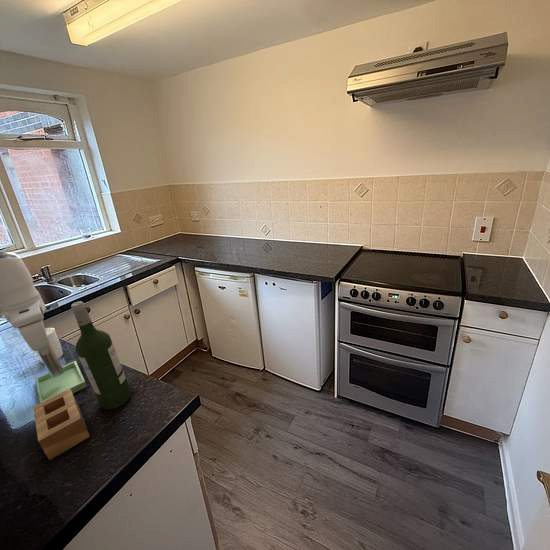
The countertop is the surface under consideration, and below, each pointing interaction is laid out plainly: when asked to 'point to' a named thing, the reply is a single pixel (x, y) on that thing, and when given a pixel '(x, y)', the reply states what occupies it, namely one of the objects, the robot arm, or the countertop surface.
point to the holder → (59, 424)
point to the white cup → (53, 343)
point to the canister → (51, 362)
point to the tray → (60, 382)
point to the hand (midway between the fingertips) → (45, 350)
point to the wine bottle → (100, 361)
